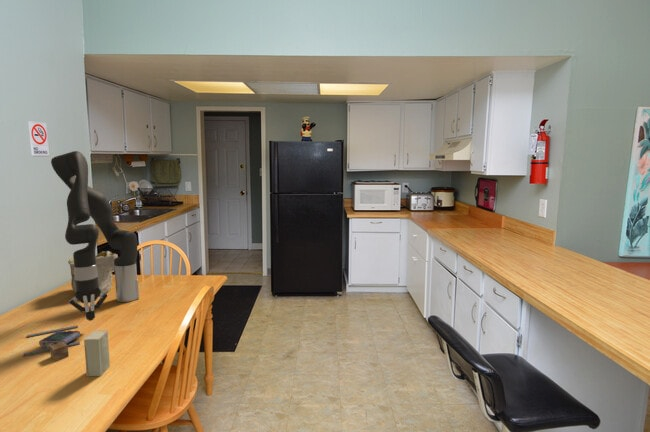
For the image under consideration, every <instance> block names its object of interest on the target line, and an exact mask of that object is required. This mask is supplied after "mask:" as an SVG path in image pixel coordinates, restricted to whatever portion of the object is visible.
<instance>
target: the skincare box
mask: <svg viewBox="0 0 650 432" xmlns="http://www.w3.org/2000/svg"><path fill="white" fill-rule="evenodd" d="M83 343H84V356H85V357H84V359H85V371H86V372H85V373H86V377H102V376H103V374H104V373H105V372H106V371H107V370H108V369H109V368H110V366H111V362H110V348H109V331H108V330H93V331H92V332H91V333H90V334H88V335H87V336H86V337H85V338H84V339H83Z"/></svg>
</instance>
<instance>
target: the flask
mask: <svg viewBox="0 0 650 432" xmlns="http://www.w3.org/2000/svg"><path fill="white" fill-rule="evenodd" d="M80 336H81V331H79V330H74V331H73V330H64V331H57V332H54V333H51V334H50V335H48V336H47V337H44V338H43V339H41V340H40V341H38V342H39V343H38V345H39V346H40V347H44V348H47V349H49V348H50V346H51V345H55V344H58V343H62V342H64V343H66V344H70V342H71V343H72V342H73V341H74V340H76V339H77V338H79V337H80Z"/></svg>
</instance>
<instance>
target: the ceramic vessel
mask: <svg viewBox="0 0 650 432" xmlns="http://www.w3.org/2000/svg"><path fill="white" fill-rule="evenodd" d="M117 257H119V256H118V254H117V253H115V252H112V251H109V250H105V251H101V252H99V253H98V254H95V258H96V266H97V271H98V282H99V289H100V290H101V292H103V293H106V294H107V293H108V292H109V291H111V289H112V286H113V272H115V269H114V259H115V258H117ZM67 263H68V265H69V266H70V267H69V268H70V274H71V289H72V290H73V292H74V294H75V293H76V286H75V278H74V258H70V259H69V260H68V262H67Z"/></svg>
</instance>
